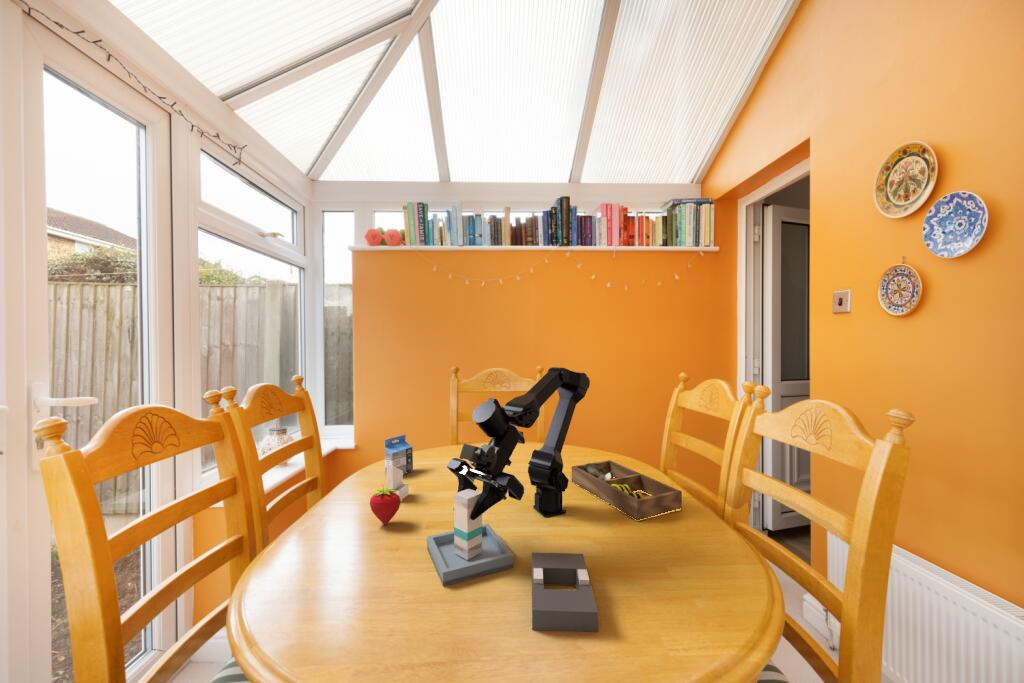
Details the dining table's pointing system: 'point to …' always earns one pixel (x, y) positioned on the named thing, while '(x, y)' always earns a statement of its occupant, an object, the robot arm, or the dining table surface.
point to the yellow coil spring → (628, 491)
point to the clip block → (562, 594)
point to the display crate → (639, 509)
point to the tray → (482, 564)
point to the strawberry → (385, 504)
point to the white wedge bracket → (396, 481)
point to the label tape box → (398, 454)
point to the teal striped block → (467, 525)
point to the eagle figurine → (597, 472)
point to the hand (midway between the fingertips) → (463, 515)
